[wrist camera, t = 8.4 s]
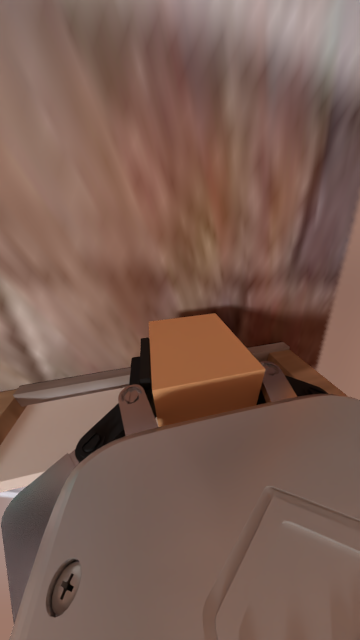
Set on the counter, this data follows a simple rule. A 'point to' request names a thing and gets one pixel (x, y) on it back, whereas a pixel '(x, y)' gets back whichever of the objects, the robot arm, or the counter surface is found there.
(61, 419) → the gate door
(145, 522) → the robot arm
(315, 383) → the gate frame
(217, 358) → the block
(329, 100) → the counter surface
